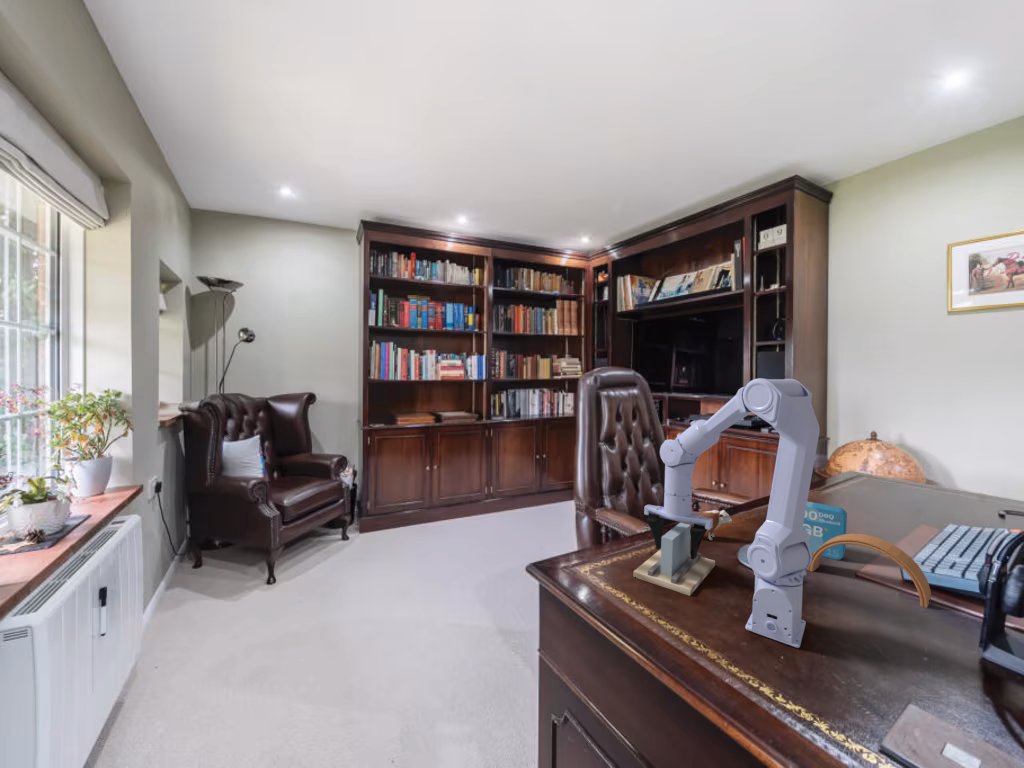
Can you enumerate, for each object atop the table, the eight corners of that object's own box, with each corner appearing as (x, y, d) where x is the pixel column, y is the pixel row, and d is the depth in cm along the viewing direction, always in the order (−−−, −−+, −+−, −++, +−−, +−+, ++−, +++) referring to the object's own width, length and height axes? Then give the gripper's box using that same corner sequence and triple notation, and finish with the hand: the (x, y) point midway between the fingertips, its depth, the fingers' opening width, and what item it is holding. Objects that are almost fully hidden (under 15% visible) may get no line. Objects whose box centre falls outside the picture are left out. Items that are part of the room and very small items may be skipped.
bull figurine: (732, 543, 114) (733, 513, 114) (678, 538, 117) (679, 508, 116) (728, 537, 118) (729, 508, 118) (676, 532, 121) (677, 504, 121)
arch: (815, 564, 103) (817, 522, 103) (931, 599, 88) (934, 551, 87) (807, 570, 99) (809, 527, 99) (926, 609, 84) (929, 558, 84)
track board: (689, 595, 87) (690, 585, 87) (633, 576, 95) (633, 566, 94) (714, 565, 101) (715, 556, 101) (663, 551, 108) (663, 542, 108)
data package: (785, 547, 112) (787, 501, 112) (788, 542, 116) (790, 498, 115) (843, 561, 104) (845, 512, 104) (845, 556, 108) (847, 508, 107)
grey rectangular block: (671, 576, 92) (672, 539, 92) (660, 573, 94) (661, 536, 94) (689, 558, 102) (690, 524, 101) (679, 555, 103) (680, 522, 103)
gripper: (717, 495, 95) (715, 556, 96) (653, 483, 105) (651, 538, 105) (708, 502, 90) (705, 567, 91) (641, 489, 99) (639, 547, 100)
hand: (675, 552), depth 97 cm, fingers open, 7 cm apart
